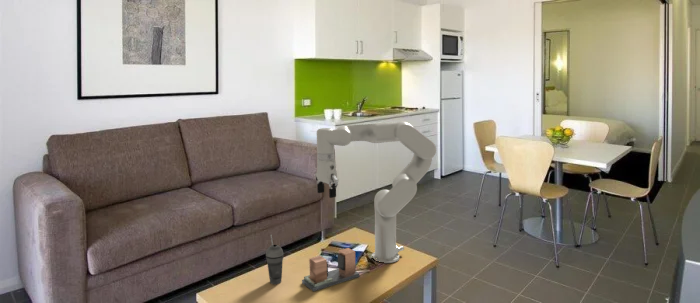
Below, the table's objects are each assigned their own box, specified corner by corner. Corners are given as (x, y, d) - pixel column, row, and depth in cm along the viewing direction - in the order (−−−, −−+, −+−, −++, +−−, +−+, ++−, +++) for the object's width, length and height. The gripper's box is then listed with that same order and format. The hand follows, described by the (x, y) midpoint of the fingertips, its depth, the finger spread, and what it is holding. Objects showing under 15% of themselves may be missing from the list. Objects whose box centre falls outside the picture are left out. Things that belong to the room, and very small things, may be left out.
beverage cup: (281, 286, 182) (279, 238, 178) (263, 285, 183) (261, 237, 180) (287, 278, 189) (285, 232, 185) (270, 277, 190) (268, 231, 187)
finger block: (328, 280, 183) (328, 259, 182) (316, 284, 180) (315, 262, 178) (322, 276, 187) (321, 255, 186) (309, 279, 184) (309, 258, 183)
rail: (346, 269, 197) (346, 246, 195) (359, 276, 190) (359, 252, 188) (302, 283, 184) (301, 258, 183) (313, 291, 177) (312, 266, 175)
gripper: (344, 158, 194) (344, 197, 197) (322, 153, 208) (323, 189, 211) (329, 160, 190) (330, 200, 193) (308, 154, 204) (309, 192, 207)
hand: (326, 194), depth 202 cm, fingers open, 9 cm apart
